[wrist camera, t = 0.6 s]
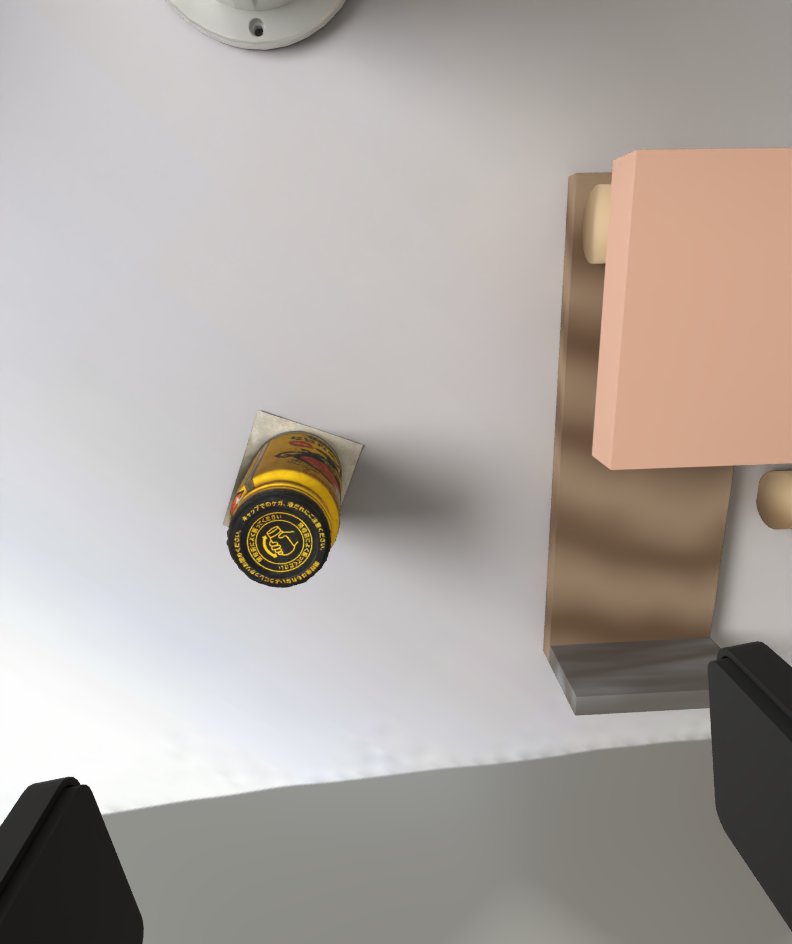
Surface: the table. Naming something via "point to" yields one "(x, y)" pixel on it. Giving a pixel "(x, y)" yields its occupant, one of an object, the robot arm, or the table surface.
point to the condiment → (288, 500)
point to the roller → (775, 499)
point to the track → (623, 535)
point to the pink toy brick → (694, 308)
